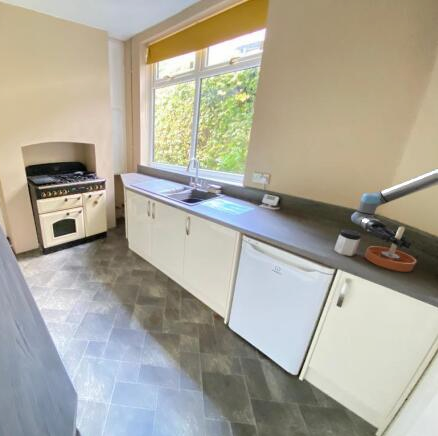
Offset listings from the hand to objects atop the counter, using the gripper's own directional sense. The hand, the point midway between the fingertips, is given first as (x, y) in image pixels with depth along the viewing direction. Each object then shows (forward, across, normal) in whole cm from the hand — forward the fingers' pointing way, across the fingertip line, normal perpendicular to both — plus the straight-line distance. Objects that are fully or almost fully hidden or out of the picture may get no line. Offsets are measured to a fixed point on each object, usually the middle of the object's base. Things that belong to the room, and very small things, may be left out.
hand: (405, 245), depth 108 cm
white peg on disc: (-6, 0, -11) cm, 12 cm away
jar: (-13, +15, -13) cm, 24 cm away
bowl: (-5, 0, -13) cm, 14 cm away
